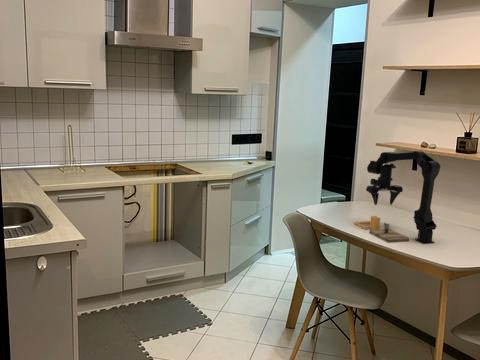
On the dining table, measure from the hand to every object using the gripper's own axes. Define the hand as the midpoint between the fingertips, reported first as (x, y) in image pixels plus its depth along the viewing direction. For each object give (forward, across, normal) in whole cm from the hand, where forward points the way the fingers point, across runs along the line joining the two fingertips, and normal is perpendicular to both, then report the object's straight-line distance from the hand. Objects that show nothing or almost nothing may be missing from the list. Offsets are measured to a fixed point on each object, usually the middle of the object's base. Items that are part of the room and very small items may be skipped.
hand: (383, 204), depth 249 cm
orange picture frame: (+13, +6, -3) cm, 14 cm away
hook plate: (+13, +5, +15) cm, 20 cm away
